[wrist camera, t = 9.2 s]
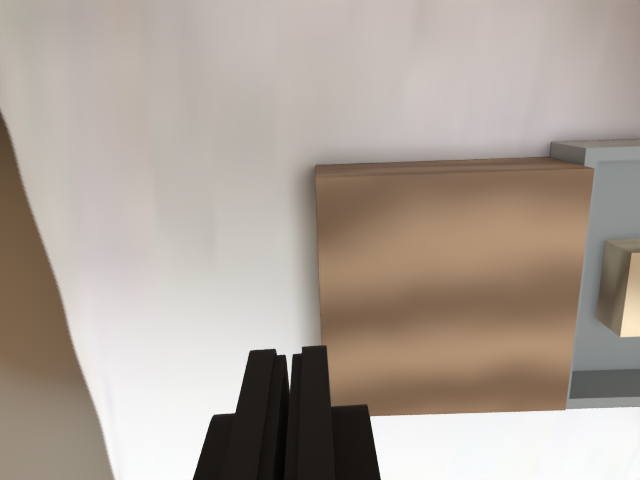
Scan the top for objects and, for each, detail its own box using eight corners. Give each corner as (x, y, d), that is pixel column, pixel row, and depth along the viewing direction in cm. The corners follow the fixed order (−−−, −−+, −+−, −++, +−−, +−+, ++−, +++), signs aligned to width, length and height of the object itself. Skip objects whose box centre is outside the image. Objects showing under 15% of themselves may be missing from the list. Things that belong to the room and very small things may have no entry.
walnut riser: (315, 164, 34) (315, 178, 28) (547, 156, 33) (594, 168, 28) (323, 369, 38) (324, 417, 32) (528, 363, 38) (565, 410, 32)
